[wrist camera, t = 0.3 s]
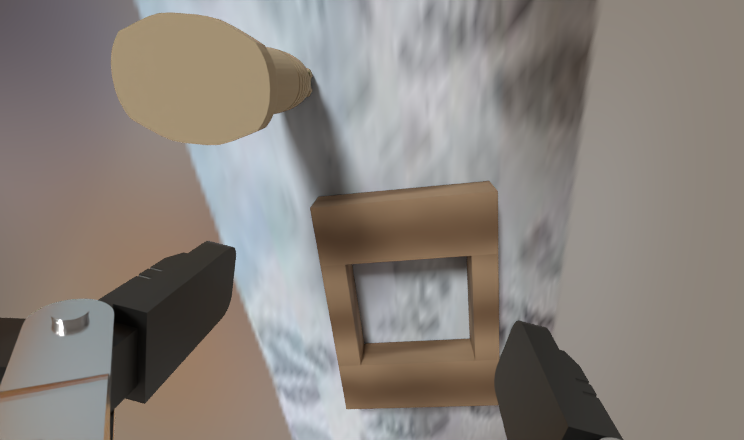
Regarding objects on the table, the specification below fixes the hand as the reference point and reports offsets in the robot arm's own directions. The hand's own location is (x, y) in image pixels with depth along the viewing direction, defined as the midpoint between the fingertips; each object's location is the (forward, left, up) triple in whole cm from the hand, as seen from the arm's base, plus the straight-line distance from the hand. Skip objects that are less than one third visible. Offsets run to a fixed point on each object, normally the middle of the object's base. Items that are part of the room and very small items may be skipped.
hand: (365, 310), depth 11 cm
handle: (-1, -10, -21) cm, 23 cm away
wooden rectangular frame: (+9, +8, -21) cm, 25 cm away
